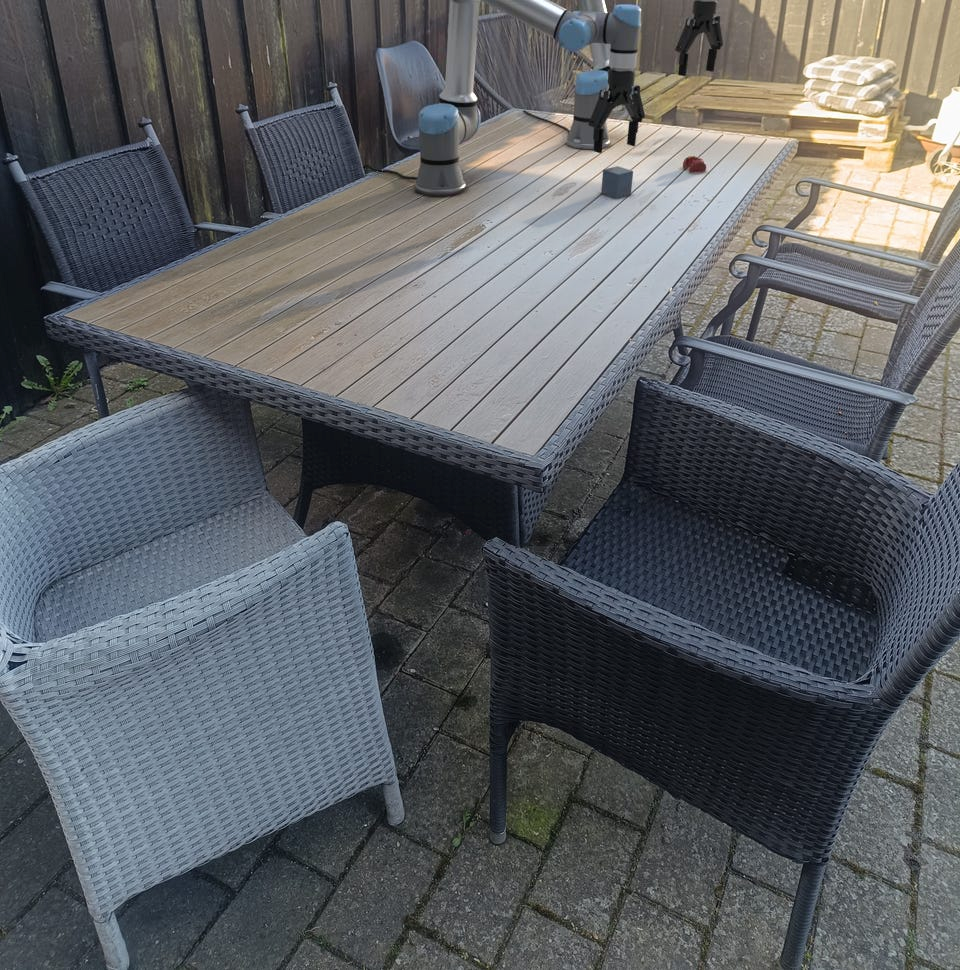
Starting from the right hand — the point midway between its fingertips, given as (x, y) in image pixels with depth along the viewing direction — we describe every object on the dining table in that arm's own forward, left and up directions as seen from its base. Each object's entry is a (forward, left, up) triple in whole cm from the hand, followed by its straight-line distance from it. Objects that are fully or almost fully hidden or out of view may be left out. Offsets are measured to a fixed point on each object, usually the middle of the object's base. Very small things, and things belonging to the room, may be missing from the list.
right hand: (695, 73), depth 280 cm
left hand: (+49, -34, -12) cm, 61 cm away
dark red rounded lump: (+23, -3, -25) cm, 34 cm away
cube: (+48, -33, -25) cm, 63 cm away
